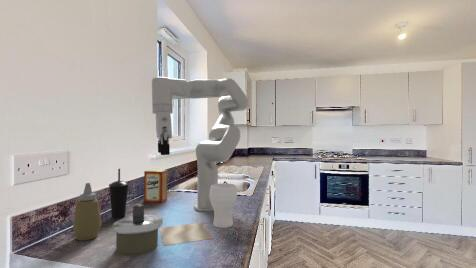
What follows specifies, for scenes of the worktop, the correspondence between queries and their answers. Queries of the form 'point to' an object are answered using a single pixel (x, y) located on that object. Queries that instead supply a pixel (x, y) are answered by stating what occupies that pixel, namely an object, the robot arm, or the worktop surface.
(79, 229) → the squeeze bottle
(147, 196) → the baking soda box
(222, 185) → the cup
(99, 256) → the worktop surface
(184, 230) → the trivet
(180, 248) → the worktop surface
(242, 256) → the worktop surface
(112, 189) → the drinking cup
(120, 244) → the can
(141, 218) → the lid
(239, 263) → the worktop surface
